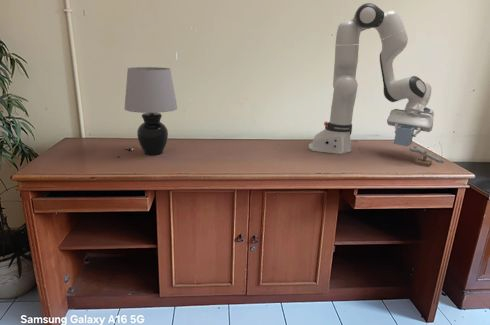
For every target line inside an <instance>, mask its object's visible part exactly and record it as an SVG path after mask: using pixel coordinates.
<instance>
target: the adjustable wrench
mask: <svg viewBox="0 0 490 325" xmlns="http://www.w3.org/2000/svg"><path fill="white" fill-rule="evenodd" d="M409 151H410V152H413V153H418V154H420V155H424V151H425V150H424V149H423V148H422V147H420V146H413V147H411V146H410V147H409ZM426 158H428V159H431V160H432V161H435V162H437V163H440V164H444V162H445V160H444V159H442V158H440V157H439V156H435V155H434V154H431V153H429V152H427V155H426Z"/></svg>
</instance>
